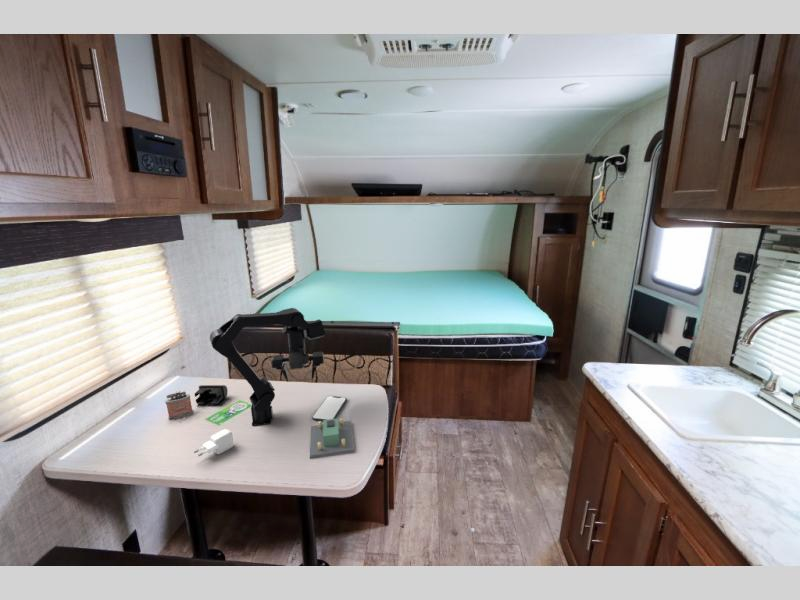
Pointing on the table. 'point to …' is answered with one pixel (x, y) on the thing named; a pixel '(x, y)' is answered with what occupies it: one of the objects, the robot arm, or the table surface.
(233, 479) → the table surface
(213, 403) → the end cap
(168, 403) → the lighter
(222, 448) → the power adapter
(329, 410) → the smartphone
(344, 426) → the chassis
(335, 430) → the circuit board module
